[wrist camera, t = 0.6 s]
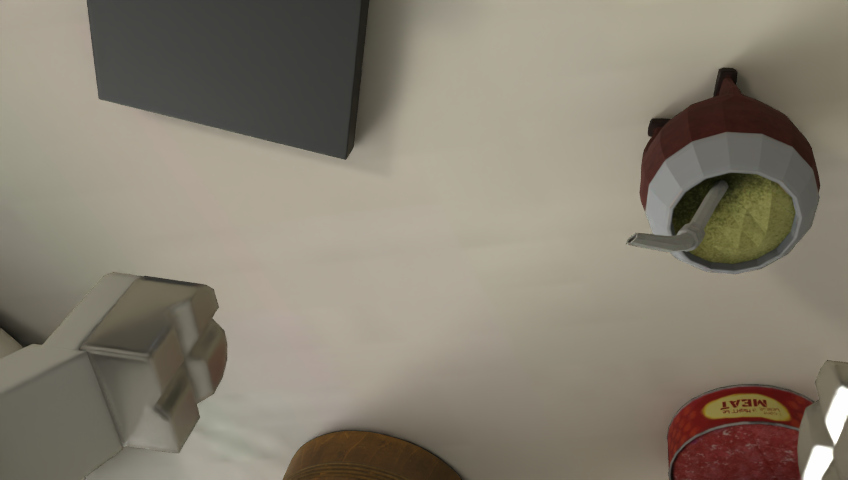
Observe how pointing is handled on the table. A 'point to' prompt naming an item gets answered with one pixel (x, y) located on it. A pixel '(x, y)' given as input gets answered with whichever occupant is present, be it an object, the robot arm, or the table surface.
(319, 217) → the table surface
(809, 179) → the mate gourd
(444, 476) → the wooden container
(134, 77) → the scale
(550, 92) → the table surface
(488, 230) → the table surface
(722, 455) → the canned food
